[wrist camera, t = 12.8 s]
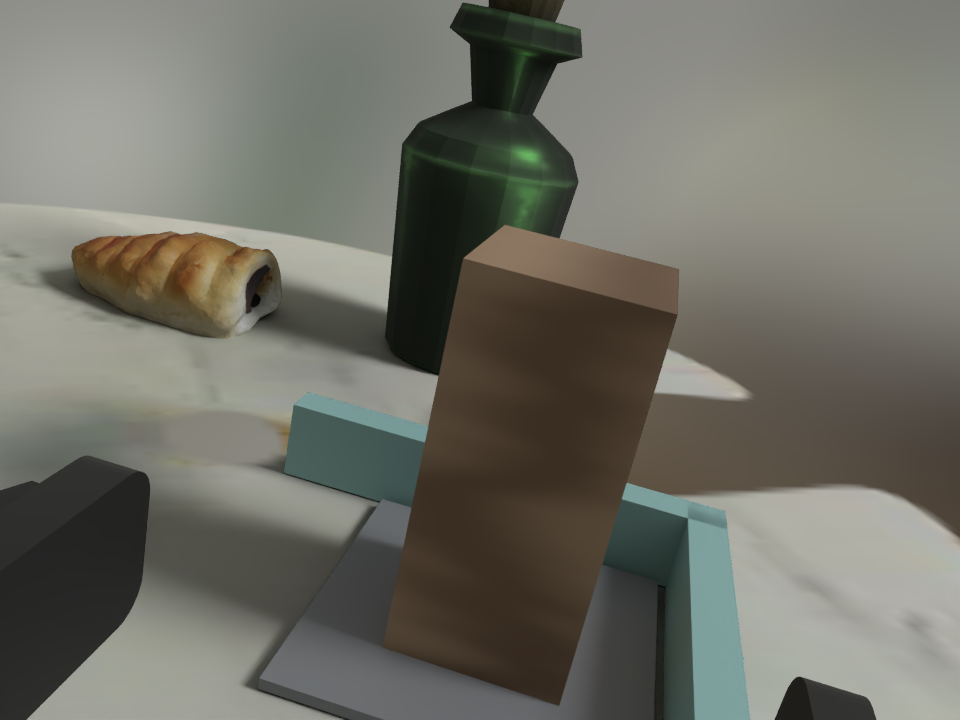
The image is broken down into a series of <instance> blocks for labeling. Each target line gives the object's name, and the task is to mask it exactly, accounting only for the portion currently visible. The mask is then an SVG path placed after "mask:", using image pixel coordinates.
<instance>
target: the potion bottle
mask: <svg viewBox="0 0 960 720" xmlns="http://www.w3.org/2000/svg"><path fill="white" fill-rule="evenodd" d="M563 2H564V0H489V7H484V6H479V5H474V4H468V3H462V5H461V7H460V9H459V11H458V13H457V14H456V16H455V18H454V20H453V22H452V24H451V26H450V28H451V29H452V30H453V31H454V32H456V33H457V34H458V35H459V36H461V37H462V38H463V39H464V40H466V41H467V42H468V43H469V44H470V57H471V86H472V101H471V102H468V103H466V104H463V105H460V106H458V107H455V108H452V109H450V110H447V111H445V112H442V113H440V114H438V115H435V116H432V117H430V118H427V119H425V120H423V121H420V122H419V123H418V124H417V125H416V127H415V128H414V129H413V131H412V132H411V133H410V134H409V136H408V137H407V138H406V140H405V141H404V142H403V144H402V154H401V165H400V176H399V188H398V198H397V199H398V200H397V210H396V221H395V233H394V244H393V254H392V266H391V277H390V288H389V299H388V311H387V322H386V333H385V338H386V340H387V342H388V343H389V345H390V346H391V348H392V349H393V351H394V352H395V354H396V355H397V356H399V357H401V358H402V359H404V360H405V361H407V362H409V363H410V364H412V365H414V366H417V367H420V368H423V369H425V370H428V371H431V372H433V373H438V374H439V373H440V368H441V363H442V358H443V353H444V349H445V344H446V339H447V334H448V329H449V325H450V320H451V315H452V310H453V305H454V301H455V296H456V291H457V286H458V281H459V276H460V272H461V267H462V262H463V258H464V257H466V256H467V255H468V254H469V253H471V252H472V251H473V250H474V249H476V248H477V247H478V246H479V245H481V244H482V243H483V242H484V241H485V240H487V239H488V238H489V237H490V236H492V235H493V234H494V233H495V232H497V231H498V230H499V229H500V228H502V227H503V226H504V225H508V226H512V227H516V228H519V229H523V230H527V231H531V232H535V233H539V234H543V235H547V236H551V237H555V238H560V235H561V232H562V229H563V226H564V223H565V220H566V217H567V214H568V211H569V208H570V206H571V203H572V200H573V196H574V194H575V191H576V188H577V185H578V178H577V174H576V170H575V166H574V161H573V158H572V156H571V154H570V153H569V152H568V151H567V150H566V149H565V148H564V147H563V146H562V145H561V144H560V143H559V142H558V140H556V138H555V137H554V136H553V135H552V134H551V133H550V132H549V131H548V130H547V129H546V128H545V127H544V126H543V125H542V124H541V123H540V122H539V121H538V120H537V119H536V118H535V117H534V116H533V113H534V111H535V108H536V106H537V104H538V102H539V100H540V98H541V96H542V94H543V92H544V90H545V88H546V86H547V84H548V82H549V79H550V77H551V75H552V73H553V71H554V69H555V67H556V65H557V64H558V63H562V62H566V61H570V60H574V59H578V58H582V44H581V30H580V29H578V28H575V27H571V26H567V25H563V24H559V23H555V21H556V19H557V17H558V14H559V12H560V10H561V7H562V5H563Z"/></svg>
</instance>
